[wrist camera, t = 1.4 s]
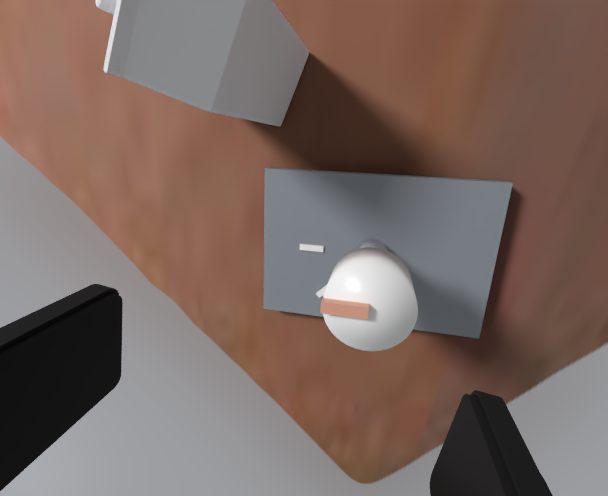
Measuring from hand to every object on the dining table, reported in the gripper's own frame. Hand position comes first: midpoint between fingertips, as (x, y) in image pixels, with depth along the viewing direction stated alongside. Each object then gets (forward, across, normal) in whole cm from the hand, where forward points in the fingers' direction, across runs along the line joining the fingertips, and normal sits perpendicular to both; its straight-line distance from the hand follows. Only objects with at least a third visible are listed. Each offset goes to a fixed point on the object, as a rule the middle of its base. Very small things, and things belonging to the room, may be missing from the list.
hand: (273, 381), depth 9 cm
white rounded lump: (+17, -3, +3) cm, 17 cm away
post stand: (+27, -3, +3) cm, 27 cm away
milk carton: (+27, +11, -11) cm, 31 cm away
